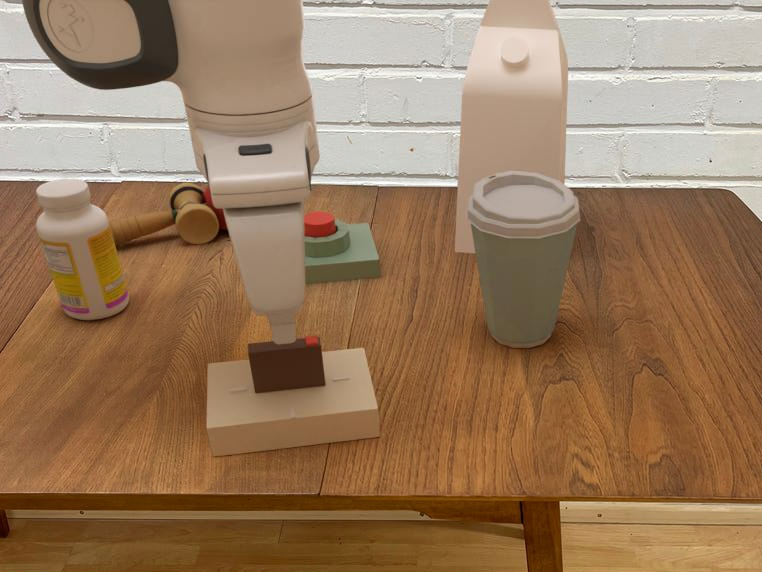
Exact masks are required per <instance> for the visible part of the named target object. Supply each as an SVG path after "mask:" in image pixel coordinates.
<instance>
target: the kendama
mask: <svg viewBox="0 0 762 572" xmlns="http://www.w3.org/2000/svg"><path fill="white" fill-rule="evenodd" d="M168 202H169V207H170V210H163V211H157V212H155V211H154V212H150V213H144V214H139V215H135V216H130V217H126V218H120V219H115V220H111V221H109V224H110V228H111V232H112V236H113V239H114V243H115V246H116V247H117V246H119V245H123V244H126V243H128V242H131V241H134V240H137V239H140V238H142V237H146V236H149V235H152V234H155V233H157V232H160V231H163V230H164V229H167V228H169V227H171V226H174V225H175V227H176V230H177V233H178V234H179V237H180V238H181V239H182V240H183V241H185V242H187V243H189V244H192V245H204V244H207V243H209V242H211V241H213V240H214V239H215V237H216V236H217V235H218V232H219V230H222V231H227V232H228V228H227V225H226V221H225V216H224V211H223V209H217V208H215V207H214V205H213V202H212V199H211V195H210V190H209V185H207V187H206V188H205V190H203V189H202V187H200V186H199V185H197V184H195V183H193V182H182V183H179V184H177V185H175V186H174V187H173V188H172V189H171V191H170V193H169V196H168Z"/></svg>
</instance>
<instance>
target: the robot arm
mask: <svg viewBox="0 0 762 572" xmlns="http://www.w3.org/2000/svg"><path fill="white" fill-rule="evenodd" d="M21 2H22V8H23V11H24V15H25V18H26V21H27V24H28V26H29V28H30V31H31V33H32V35H33V37H34V38H35V40H36V42H37V44H38V46H39V47H40V48H41V49H42V51H43V52H44V54H45V55H46V57H48V58H49V60H50V61H51V62H52V63H53V64H54V65H55V66H56V67H57V68H58V69H59V70H60V71H61V72H63V73H64V74H65V75H67V76H68V77H70V78H71V79H72V80H74V81H76V82H77V83H78V84H79V83H80V84H82V85H83V86H86V87H88V88H91V89H95V90H100V91H101V90H102V91H111V90H113V91H114V90H122V89H131V88H138V87H144V86H148V85H149V86H150V85H154V84H157V83H161V82H168V83H169V82H170V83H173V84H174V85H176V86H177V87H178V89H179V90H180V92H181V96H182V100H183V105H184V109H185V115H186V120H187V126H188V130H189V135H190V140H191V145H192V150H193V155H194V161H195V165H196V168H197V170H198V171H199V172H200V174H202V175H203V177H204V179H205V181H206V182H207V184H208V185H207V186H209V190H210V195H211V199H212V202H213V205H214V207H215V208H217V209H223V211H224V216H225V221H226V225H227V228H228V231H227V232H228V235H229V239H230V242H231V246H232V250H233V253H234V258H235V260H236V261H235V262H236V265H237V269H238V271H239V275H240V279H241V281H242V285H243V288H244V292H245V295H246V297H247V300H248V302H249V305H250V307H251V310H252V311H253V313H254V314H255V315H257V316H260V317H267V320H268V323H269V325H270V326H269V327H270V331H271V337H272V341H274V343H276V344H278V345H279V344H288V343H293V342H295V341H296V339H298V338H297V329H296V321H295V313H299V312H301V311H302V310H303V309H304V307H305V303H306V302H305V301H306V284H305V235H304V215H305V202H309V201H310V200H311V198H312V195H311V191H312V176H313V173H314V170H315V167H316V165H317V164H318V163H319V160H320V157H321V156H320V155H321V154H320V147H319V137H318V128H317V119H316V111H315V102H314V101H315V100H314V93H313V92H314V91H313V86H312V82H311V79H310V76H309V74H308V72H307V69H306V65H305V62H304V54H303V47H304V45H303V44H304V36H305V31H306V27H305V26H306V19H305V18H306V17H305V9H304V3H303V0H21Z"/></svg>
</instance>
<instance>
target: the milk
mask: <svg viewBox="0 0 762 572" xmlns="http://www.w3.org/2000/svg"><path fill="white" fill-rule="evenodd" d="M558 26H559V24H558V21H557V17H556V15H555V12H554V9H553V6H552V3H551V0H488V4H487V7H486V9H485V12H484V15H483V16H482V19H481V22H480V26H479V28H478V31H477V34H476V37H475V41H474V44H473V47H472V50H471V54H470V57H469V60H468V64H467V67H466V71H465V75H464V78H463V84H462V93H461V107H460V108H461V109H460V110H461V111H460V131H459V149H458V150H459V152H458V171H457V193H456V194H457V195H456V211H455V212H456V215H455V235H454V236H455V237H454V238H455V239H454V253H461V254H462V253H464V254H476V253H475V247H474V241H473V235H472V229H471V223H470V222H469V221H468V220H466V217H467V208H468V203H469V197H470V196H472V195H473V189H474V184H476V183H477V182H479V181H481V180H482V179H484V178H485V177H488V176H490V175H493V174H498V173H502V172H507V171H521V172H533V173H538V174H541V175H544V176H547V177H550V178H553V179H556V180H559V181H560V182H561V183H563V184H564V185H565V181H566V150H567V149H566V148H567V122H568V119H567V118H568V93H569V92H568V90H569V89H568V87H569V61H568V55H567V51H566V47H565V44H564V41H563V38H562V37H563V36H562V34H561V30H560V28H559V27H558Z"/></svg>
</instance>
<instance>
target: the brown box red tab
mask: <svg viewBox="0 0 762 572" xmlns="http://www.w3.org/2000/svg"><path fill="white" fill-rule="evenodd" d="M322 352H323V351H322V342H321V337H320V336H318V335H317V334H313V335H305V336H304V337H302V338H300V337H299V338H296V341H295V342H293V343H288V344H279V345H278V344H276V343H274V341H273V340H272V341H271V340H270V341H262V342H251V343H247V356H248V359H249V362H250V367H251V373H252V379H253V384H254V390H255V393H261V392H270V391H280V390H289V389H298V388H307V387H316V386H325V385H326V383H325V375H324V366H323V357H322Z"/></svg>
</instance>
